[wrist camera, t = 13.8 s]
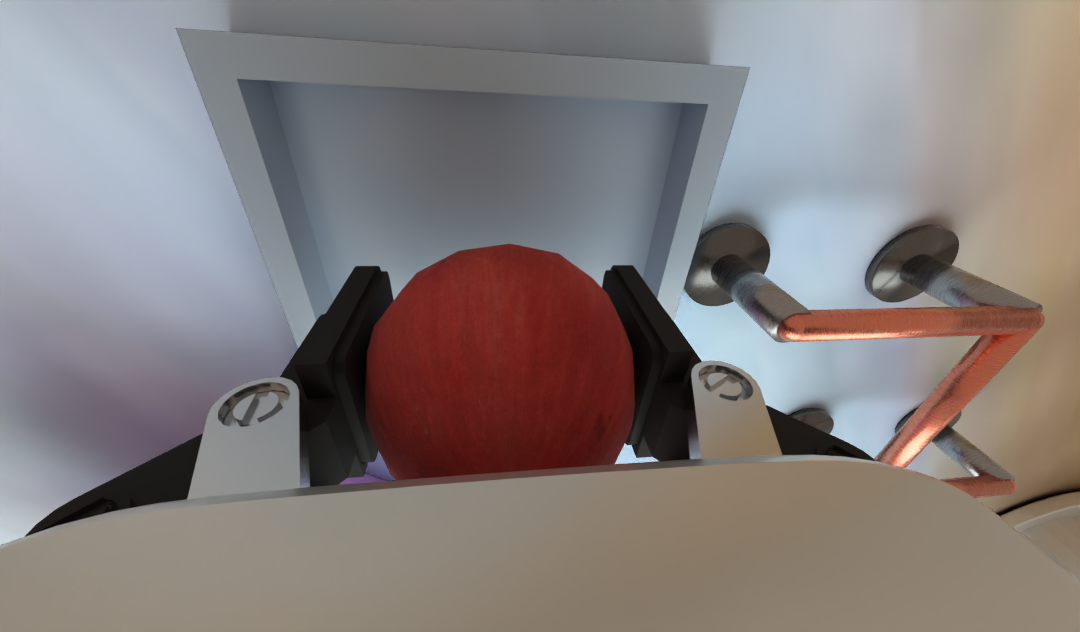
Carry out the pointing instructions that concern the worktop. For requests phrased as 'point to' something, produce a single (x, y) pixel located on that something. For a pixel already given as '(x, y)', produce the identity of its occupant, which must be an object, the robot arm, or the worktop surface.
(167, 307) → the worktop surface
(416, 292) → the onion
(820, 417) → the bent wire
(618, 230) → the dish
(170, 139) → the worktop surface
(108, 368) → the worktop surface
